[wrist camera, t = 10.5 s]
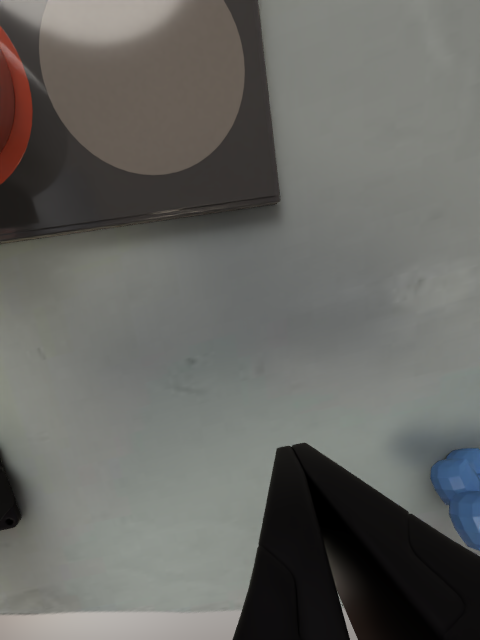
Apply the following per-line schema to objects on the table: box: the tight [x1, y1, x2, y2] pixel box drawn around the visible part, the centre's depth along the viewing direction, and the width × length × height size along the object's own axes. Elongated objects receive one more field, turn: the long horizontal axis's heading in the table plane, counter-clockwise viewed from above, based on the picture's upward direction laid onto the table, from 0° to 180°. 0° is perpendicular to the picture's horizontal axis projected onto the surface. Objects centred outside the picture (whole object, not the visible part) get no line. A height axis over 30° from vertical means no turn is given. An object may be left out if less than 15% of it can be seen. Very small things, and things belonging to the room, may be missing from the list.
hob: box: [0, 0, 280, 244], centre depth 15 cm, size 23×14×1 cm, turn 98°
